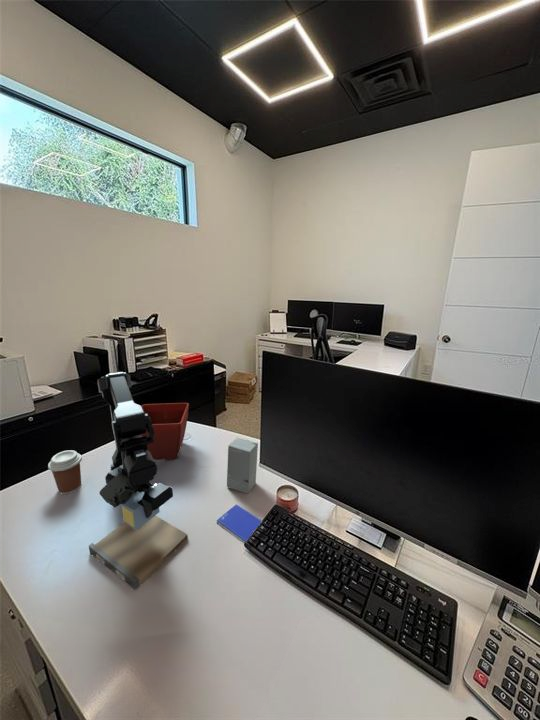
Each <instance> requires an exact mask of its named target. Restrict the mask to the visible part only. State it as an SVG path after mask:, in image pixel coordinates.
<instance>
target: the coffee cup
mask: <svg viewBox="0 0 540 720" xmlns="http://www.w3.org/2000/svg"><path fill="white" fill-rule="evenodd" d="M82 457H83V456H82V455H81V454H80V453H78V452H77V451H76V450H72V449H71V450H63V451H60V452H58V453H56V454H55V455H53V456H52V457H51V459H50V461H49V462H48V464H47V469H48V470H49V471H50V472H52V474H53V479H54V481H55V484H56V485H55V486H56V487H57V490H58V493H59V492H60V493H62V494H61V495H69V494H68V493H70V494H72V492H73V493H75V492H77V491H79V489H80V488H81V487H82V486H83V485H82V484H81V483H82V475H81V474H82V473H81V462H82V460H83V459H82ZM76 490H77V491H76ZM74 491H75V492H74ZM60 493H59V494H60Z"/></svg>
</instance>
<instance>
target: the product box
mask: <svg viewBox="0 0 540 720" xmlns="http://www.w3.org/2000/svg"><path fill="white" fill-rule="evenodd" d="M143 495H144V492H142V493H138V492H136V493H134V494H133V495H132V497H131V498H130V499H129V500H128V501H127V502H126V503H125V504H123V505H122V504H120V506H121V513H122V520H123V523H126V524H127V525H129V526H130V527H132V528H133V529H135V530H136V531H137V530H138V529H139V528H140V527H141V526H143V525H144V524H145V523H146V522H148V521H149V520H150V519H151V518H153V517H154V516H155V515H156V516H157V515H158V514H159V513H160V512H161V511H160V507H159V508H158V509H156V510H153V512H152V514H151V516H150V517H149V518H146V516H145V512H144V508H143V506H141V505H140V504H138V503H137V502H138V501H140V500H141V499H142V497H143Z"/></svg>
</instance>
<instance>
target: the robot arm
mask: <svg viewBox="0 0 540 720" xmlns="http://www.w3.org/2000/svg"><path fill="white" fill-rule="evenodd" d="M97 387H98V393H101V394H102V395H101V396H102V398H103V400H104V401H105V402H106V403H107V405H109V410H110V415H111V428H112V432H113V437H114V442H115V451H114V453H113V455H112V457H111V459H112V460H111V461H112V464H111V465H110V471H109V472H108V473H107V474H106V475H105V477H104V478H105V485H104V486H103V487H102V488H101V489H100V491H99V495H100V496H101V497H102V499H103V500H104V501H105V503H107V504H109V505H110V506H111V507H113V508H118V507H119V506H121V504H122V505H123V504H125V503H126V502H127V501H128V500H129V499H130V498H131V497H132V495H133V494H134V493H136V492H138V493H142V492H144V495H143V497H142V499H141V500H140V501H138V502H137V503H138V504H140V505H141V506H143V508H144V512H145V516H146V518H149V517H150V516H151V514H152V512H153V510H156V509H158V508H159V509H160V507H162V506H163V505H165V503H166V502H169V500H171V499H172V498H173V497H174V493H173V492H174V490H173V487H171V486H170V485H167V484H165V483H164V482H159V483H154V484H153V483H151V481H152V480H154V479H155V477H156V474H157V472H158V465H157V462H155V461H156V460H154V459H153V457H152V455H151V453H150V451H149V450H148V447H147V444H151V443H154V439H153V436H154V435H155V433H154V429H153V426H152V422H151V418H150V417H149V416H148V415H147V414H145V413H144V411H143V409H142V405H140V404H137V403H135V401H134V398H133V395H132V393H131V390H130V388H132V380H131V375H130V374H129V373H126V371H125V372H123V371H118V372H110V373H107V374H106V375H104V376H101V377H100V378H98V379H97ZM146 429H147V432H148V436H149V437H148V436H141V434H145V433H146Z"/></svg>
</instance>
